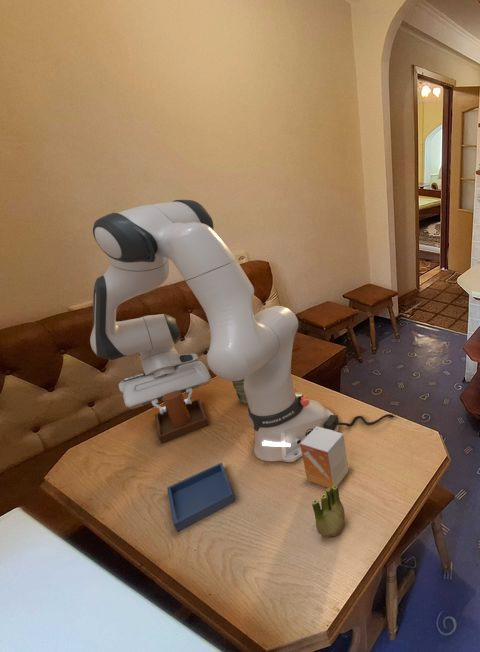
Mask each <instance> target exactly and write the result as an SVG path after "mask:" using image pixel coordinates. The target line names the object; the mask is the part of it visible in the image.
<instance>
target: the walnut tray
mask: <svg viewBox="0 0 480 652" xmlns="http://www.w3.org/2000/svg"><path fill="white" fill-rule="evenodd" d="M191 402H192V404H191V405H188V406H186V407H187V410H188V412H189V415H190V418H191V420H190V421H189V422H188V423H187V424H185V425H183V426H180V427H174V426H173V425H172V422H171V420H170V417H169V414H168V413H166V414H163V415H161V413H160V412H157V413H155V414H154V418H155V419H154V420H155V425H156V430H157V431H156V432H157V437H158V440H159V442H160V444H161V445H162V444H165V443H167V442H169V441H172V440H175V439H177V438H180V437H182V436H185V435H187V434H189V433H192V432H194V431H197V430H200V429H202V428H205V427H207V426H209V423H208V419H207V416H206V414H205V411H204V408H203V405H202V403H201V400H200V398H197V399H195V400H191Z"/></svg>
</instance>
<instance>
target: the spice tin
mask: <svg viewBox="0 0 480 652" xmlns="http://www.w3.org/2000/svg"><path fill="white" fill-rule="evenodd" d="M182 393H183V392H182ZM182 393H181V391H179V390H177V391H174V392H170V393H167V394H165V395H164V396H163V397H162V402H163V404H164V406H165V407H166V409H167V412H168V414H169V417H170V420H171V422H172V425H173V426H174V427H180V426H183V425H185V424H187V423H188V422H189V421H190V420H191V418H190V415H189V412H188V410H187V407H186V404H185V402H184V400H185V399H184V396H183V394H182Z"/></svg>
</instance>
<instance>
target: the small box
mask: <svg viewBox="0 0 480 652" xmlns="http://www.w3.org/2000/svg"><path fill="white" fill-rule="evenodd" d="M300 446H301V451H302V456H301V457H302V461H303V465H304V470H305V474H306V481H307V482H309V483H313V484H316V485H319V486H321V487H324V488H326V489H327V488H331V487H332V486H334V485H338V486H339V485H340V483H341V482H342V481H343V479H344V478H345V477H346V475H347V474H348V472H349V470H350V469H349V463H348V457H347V456H348V455H347V451H346V450H347V449H346V444H345V436H344V433H341V432H339V431H338V432H335V431H332V430H329V429H325V428H321V427H316V428H315V429H314V430H313V431H312V432H311V433H310V434H309V435H308V436H307V437H306V438H305V439H304V440H303V441H302V442H301V443H300Z"/></svg>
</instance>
